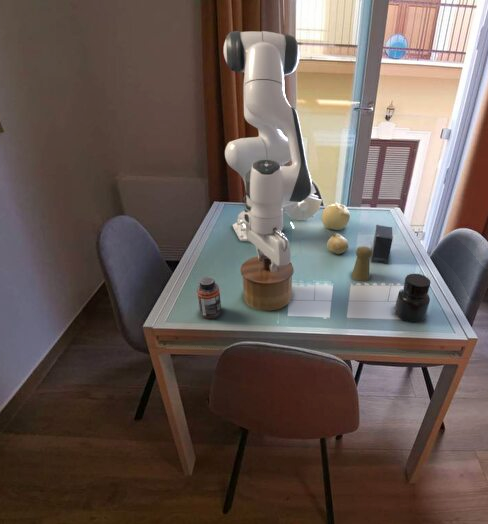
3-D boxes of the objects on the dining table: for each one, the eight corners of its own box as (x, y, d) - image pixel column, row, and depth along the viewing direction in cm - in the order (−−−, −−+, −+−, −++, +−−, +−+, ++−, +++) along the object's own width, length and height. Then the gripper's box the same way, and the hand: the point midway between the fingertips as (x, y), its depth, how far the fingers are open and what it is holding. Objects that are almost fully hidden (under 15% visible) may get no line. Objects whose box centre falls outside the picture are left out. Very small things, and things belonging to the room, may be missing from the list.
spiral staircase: (293, 231, 160) (281, 208, 180) (328, 213, 160) (313, 192, 180) (276, 198, 149) (266, 177, 169) (314, 179, 149) (299, 160, 169)
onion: (347, 247, 140) (349, 231, 137) (347, 257, 133) (349, 240, 130) (327, 245, 141) (329, 229, 138) (325, 255, 134) (327, 238, 131)
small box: (388, 264, 130) (393, 238, 125) (370, 261, 131) (374, 236, 126) (388, 250, 139) (393, 226, 134) (371, 248, 140) (375, 224, 135)
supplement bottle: (202, 306, 105) (197, 274, 99) (222, 306, 105) (219, 273, 100) (198, 319, 100) (194, 286, 94) (220, 319, 100) (217, 286, 94)
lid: (231, 266, 108) (230, 251, 105) (277, 254, 116) (277, 239, 113) (255, 292, 97) (255, 276, 94) (304, 277, 104) (305, 261, 102)
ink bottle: (418, 303, 110) (427, 270, 104) (431, 322, 103) (441, 287, 97) (388, 305, 109) (395, 272, 103) (399, 324, 101) (407, 289, 95)
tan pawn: (358, 282, 119) (362, 254, 114) (348, 273, 124) (351, 245, 118) (372, 278, 122) (377, 250, 116) (362, 270, 126) (366, 242, 121)
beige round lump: (351, 232, 152) (354, 208, 147) (324, 233, 151) (326, 209, 145) (344, 221, 162) (347, 198, 157) (318, 222, 160) (320, 199, 155)
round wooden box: (236, 291, 112) (234, 265, 107) (276, 278, 119) (276, 253, 115) (257, 316, 102) (256, 289, 97) (300, 301, 109) (301, 274, 104)
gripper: (297, 234, 92) (295, 279, 99) (260, 207, 107) (260, 248, 114) (275, 239, 89) (275, 285, 96) (240, 211, 103) (242, 253, 110)
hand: (267, 265), depth 105 cm, fingers open, 5 cm apart
